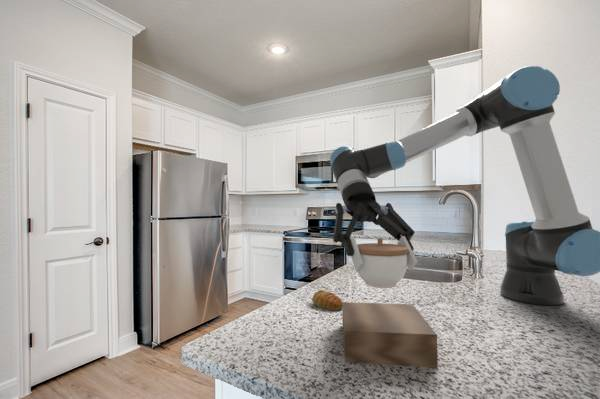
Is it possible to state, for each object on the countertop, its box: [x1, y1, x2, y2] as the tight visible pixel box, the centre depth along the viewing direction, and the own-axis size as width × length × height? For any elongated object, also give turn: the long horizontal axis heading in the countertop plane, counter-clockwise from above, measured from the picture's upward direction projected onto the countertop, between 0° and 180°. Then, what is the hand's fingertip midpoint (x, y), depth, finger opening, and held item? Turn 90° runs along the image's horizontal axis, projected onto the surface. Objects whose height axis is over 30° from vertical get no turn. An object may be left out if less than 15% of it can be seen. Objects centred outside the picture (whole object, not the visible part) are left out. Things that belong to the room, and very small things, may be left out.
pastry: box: [311, 289, 343, 311], centre depth 83 cm, size 9×7×4 cm
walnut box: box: [341, 301, 439, 368], centre depth 60 cm, size 16×16×6 cm
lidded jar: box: [357, 237, 408, 289], centre depth 60 cm, size 11×11×9 cm
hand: (387, 267), depth 57 cm, fingers closed on lidded jar, 11 cm apart
